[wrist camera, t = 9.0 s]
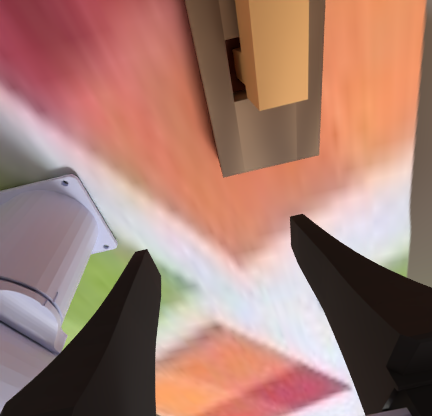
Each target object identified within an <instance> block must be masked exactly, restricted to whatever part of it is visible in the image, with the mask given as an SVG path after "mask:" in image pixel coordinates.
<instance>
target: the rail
mask: <svg viewBox="0 0 432 416" xmlns="http://www.w3.org/2000/svg"><path fill="white" fill-rule="evenodd" d="M184 1H185V6H186V11H187V15H188V20H189V25H190V29H191V34H192V38H193V43H194V48H195V52H196V57H197V61H198V66H199V71H200V75H201V80H202V85H203V89H204V94H205V98H206V103H207V108H208V112H209V117H210V121H211V126H212V131H213V135H214V140H215V145H216V149H217V154H218V158H219V163H220V167H221V170H222V174H223V178H224V177H228V176H232V175H236V174H241V173H245V172H249V171H253V170H258V169H262V168H266V167H270V166H275V165H279V164H283V163H288V162H292V161H296V160H300V159H305V158H309V157H313V156H317V155H319V146H320V121H321V96H322V71H323V46H324V21H325V0H309V52H308V99H307V100H303V101H299V102H295V103H291V104H287V105H282V106H278V107H274V108H270V109H266V110H262V111H259V110H258V109H257V108H256V107H255V106H254V105H253V103H252V102H251V101H250V100H249V99H248V98H247V93H246V90H242V91H238V92H234V93H233V91H232V84H231V78H230V71H229V65H228V58H227V52H226V45H225V40H228V39H232V38H236V37H239V29H238V21H237V13H236V5H235V0H184Z"/></svg>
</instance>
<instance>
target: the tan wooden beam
mask: <svg viewBox="0 0 432 416" xmlns="http://www.w3.org/2000/svg"><path fill="white" fill-rule="evenodd" d="M235 5H236V13H237V21H238V29H239V37H240V45H241V47H240V48H236V49H233V56H234V64H235V71H236V77H237V78H238V79H239V80H240V81H241V82H243V83H244V84H245V85H246V93H247V98H248V99H249V100H250V101H251V102H252V103H253V105H254V106H255V107H256V108H257V109H258V110H259V111H262V110H266V109H270V108H274V107H278V106H282V105H287V104H291V103H295V102H299V101H303V100H307V99H308V52H309V0H235Z"/></svg>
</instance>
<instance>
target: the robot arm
mask: <svg viewBox="0 0 432 416" xmlns="http://www.w3.org/2000/svg"><path fill="white" fill-rule="evenodd" d="M63 181H67V182H68V184H66V183H64V182H63ZM290 228H291V247H292V250H293V252H294V255H295V257H296V260H297V262H298V264H299V266H300V268H301V270H302V272H303V274H304V275H305V277H306V279H307V281H308V283H309V285H310V286H311V288H312V290H313V292H314V294H315V295H316V297H317V299H318V301H319V303H320V304H321V306H322V308H323V310H324V312H325V315H326V317H327V319H328V322H329V324H330V326H331V329H332V331H333V333H334V336H335V338H336V340H337V343H338V345H339V348H340V350H341V352H342V355H343V357H344V360H345V363H346V365H347V368H348V370H349V373H350V375H351V378H352V380H353V383H354V386H355V388H356V391H357V394H358V396H359V399H360V402H361V404H362V407H363V410H364V413H365V415H366V416H432V288H431V287H428V286H426V285H423V284H420V283H418V282H416V281H413V280H411V279H408V278H406V277H404V276H402V275H400V274H397V273H395V272H393V271H391V270H389V269H387V268H384V267H382V266H380V265H378V264H377V263H375V262H373V261H371V260H369V259H367V258H365V257H364V256H362V255H360V254H359V253H357V252H355V251H354V250H352V249H350V248H349V247H347V246H346V245H344V244H343V243H341V242H340V241H338V240H337V239H335V238H334V237H333V236H331V235H330V234H328V233H327V232H326V231H324V230H323V229H322V228H320V227H319V226H318V225H316V224H315V223H314V222H313V221H311V220H310V219H309V218H307V217H306V216H305V215H303V214H300V215H295V216H291V217H290ZM117 244H118V243H117V241H116V239H115V238H114V236H113V234H112V233H111V231H110V229H109V228H108V226H107V224H106V223H105V221H104V220H103V218H102V216H101V215H100V213H99V211H98V210H97V208H96V206H95V205H94V203H93V201H92V200H91V198H90V196H89V195H88V193H87V191H86V190H85V188H84V186H83V185H82V183H81V182H80V180H79V178H78V177H77V176H75V175H73V174H68V175H64V176H60V177H56V178H52V179H47V180H43V181H39V182H35V183H31V184H27V185H22V186H18V187H14V188H10V189H6V190H2V191H0V416H156V402H155V348H156V336H157V327H158V319H159V310H160V301H161V275H160V273H159V271H158V269H157V267H156V265H155V263H154V261H153V259H152V258H151V256H150V254H149V252H148V250H147V249H146V250H141V251H137V252H135V253H134V255H133V256H132V258H131V260H130V261H129V263H128V265H127V266H126V268H125V269H124V271H123V273H122V274H121V276H120V278H119V279H118V281H117V282H116V284H115V285H114V287H113V289H112V290H111V292H110V293H109V294H108V296H107V297H106V299H105V300H104V302H103V303H102V305H101V306H100V307H99V309H98V310H97V311H96V313H95V314H94V315H93V316H92V318H91V319H90V320H89V321H88V323H87V324H86V325H85V326H84V327H83V329H82V330H81V331H80V332H79V333H78V334H77V335H76V336H75V338H74V339H73V340H72V341H71V342H70V343H69V344H68V345H67V346H66V347H65V349H64V350H63V351H62V349H63V346H64V344H65V341H66V338H67V334H66V333H64V332H63V330H62V328H61V325H62V323H63V320H64V318H65V316H66V313H67V311H68V308H69V306H70V303H71V301H72V299H73V296H74V294H75V291H76V289H77V287H78V284H79V282H80V279H81V277H82V274H83V272H84V270H85V267H86V265H87V262H88V260H89V258H90V255H91V254H94V253H99V252H103V251H107V250H112V249H115V248H116V247H117ZM105 245H108V246H105ZM61 351H62V352H61Z"/></svg>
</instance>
